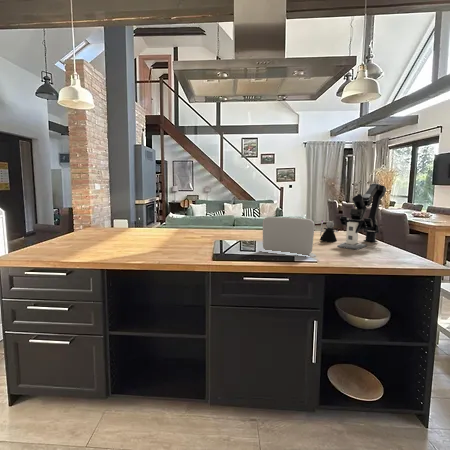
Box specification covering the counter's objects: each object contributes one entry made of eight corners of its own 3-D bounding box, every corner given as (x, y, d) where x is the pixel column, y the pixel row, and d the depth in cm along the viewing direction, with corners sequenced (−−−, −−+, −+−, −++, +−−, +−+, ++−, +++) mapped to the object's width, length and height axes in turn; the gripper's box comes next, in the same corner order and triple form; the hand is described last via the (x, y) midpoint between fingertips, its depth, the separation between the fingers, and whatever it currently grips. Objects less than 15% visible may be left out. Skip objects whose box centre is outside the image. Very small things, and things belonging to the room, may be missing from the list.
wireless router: (317, 254, 177) (319, 218, 175) (314, 258, 168) (316, 220, 166) (262, 249, 190) (263, 215, 188) (257, 252, 181) (258, 216, 179)
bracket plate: (347, 243, 211) (348, 239, 211) (366, 246, 203) (367, 242, 203) (336, 247, 199) (337, 243, 199) (356, 250, 191) (356, 245, 191)
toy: (335, 238, 222) (338, 218, 215) (337, 243, 216) (340, 223, 209) (317, 238, 223) (320, 218, 217) (319, 243, 217) (322, 222, 210)
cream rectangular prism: (349, 242, 201) (350, 221, 199) (357, 243, 198) (358, 222, 196) (345, 243, 197) (347, 222, 196) (354, 244, 194) (355, 223, 192)
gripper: (341, 203, 204) (333, 222, 197) (372, 205, 191) (364, 225, 184) (346, 214, 210) (337, 233, 204) (376, 217, 198) (368, 237, 191)
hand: (351, 232), depth 196 cm, fingers closed on cream rectangular prism, 5 cm apart
